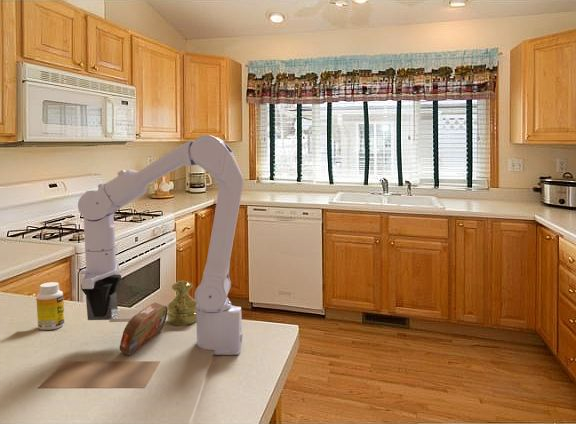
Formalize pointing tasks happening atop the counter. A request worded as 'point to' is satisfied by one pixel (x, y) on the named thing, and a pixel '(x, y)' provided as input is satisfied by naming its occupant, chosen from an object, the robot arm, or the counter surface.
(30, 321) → the counter surface
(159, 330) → the tin
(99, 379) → the board
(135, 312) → the grey pillar on tile
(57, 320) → the supplement bottle
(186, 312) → the green vase
